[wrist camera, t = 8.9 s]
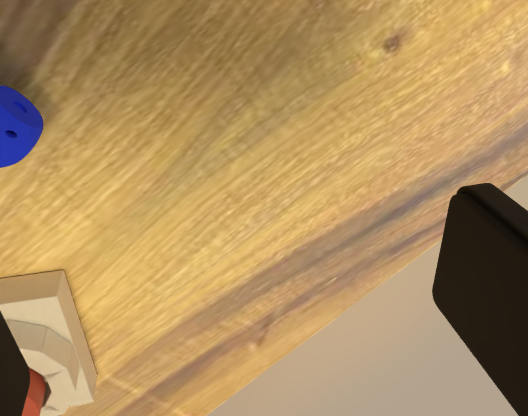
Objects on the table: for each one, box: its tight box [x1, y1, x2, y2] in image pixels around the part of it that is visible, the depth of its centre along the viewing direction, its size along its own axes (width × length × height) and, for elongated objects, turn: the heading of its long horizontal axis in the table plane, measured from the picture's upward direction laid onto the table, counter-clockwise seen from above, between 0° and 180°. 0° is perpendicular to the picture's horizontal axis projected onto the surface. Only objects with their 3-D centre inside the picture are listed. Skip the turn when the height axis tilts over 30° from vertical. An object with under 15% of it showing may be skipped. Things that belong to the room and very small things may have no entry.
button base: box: [0, 270, 97, 416], centre depth 26 cm, size 9×7×4 cm
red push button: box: [22, 367, 46, 416], centre depth 24 cm, size 4×4×2 cm
